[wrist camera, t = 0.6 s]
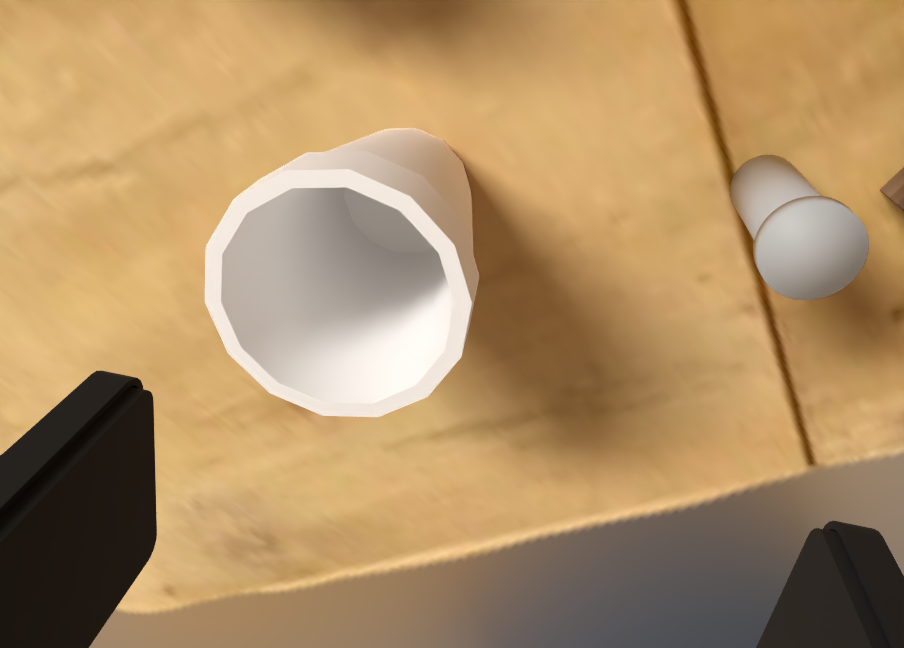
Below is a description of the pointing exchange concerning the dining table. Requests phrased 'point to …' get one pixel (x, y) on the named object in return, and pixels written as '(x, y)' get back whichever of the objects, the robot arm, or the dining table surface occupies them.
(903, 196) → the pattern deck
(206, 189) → the dining table surface
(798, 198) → the grey peg
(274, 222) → the foam cup
